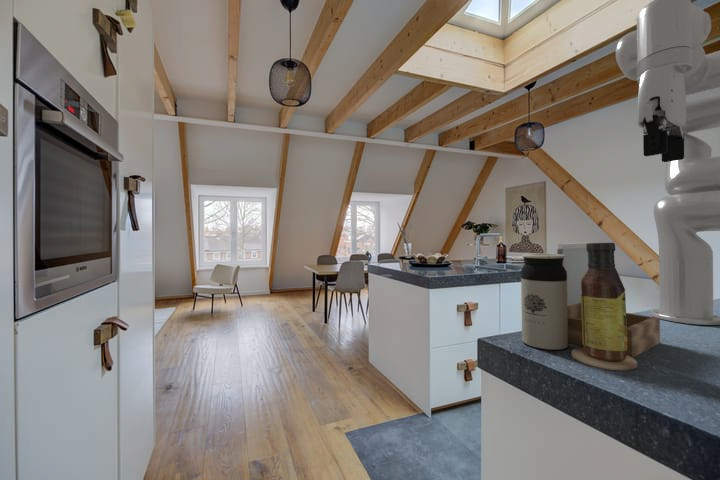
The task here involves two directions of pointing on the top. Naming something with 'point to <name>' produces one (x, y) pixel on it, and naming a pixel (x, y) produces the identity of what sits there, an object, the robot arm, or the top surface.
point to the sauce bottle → (603, 305)
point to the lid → (574, 269)
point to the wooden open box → (639, 330)
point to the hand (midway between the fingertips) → (664, 157)
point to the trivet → (604, 361)
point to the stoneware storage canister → (544, 301)
